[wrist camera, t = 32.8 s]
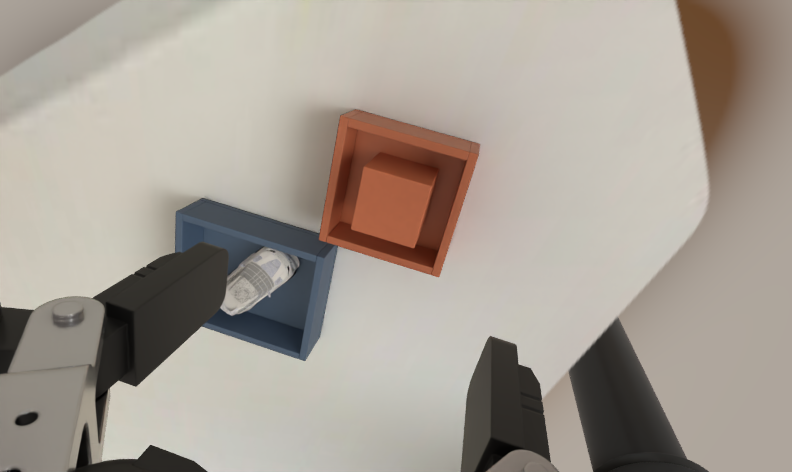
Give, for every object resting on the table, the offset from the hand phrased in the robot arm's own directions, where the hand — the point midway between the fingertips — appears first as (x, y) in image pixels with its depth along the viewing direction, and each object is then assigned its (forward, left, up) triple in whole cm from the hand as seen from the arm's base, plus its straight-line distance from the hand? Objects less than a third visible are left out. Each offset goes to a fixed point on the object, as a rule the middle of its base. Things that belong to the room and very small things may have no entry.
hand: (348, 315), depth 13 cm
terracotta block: (+2, +3, -20) cm, 20 cm away
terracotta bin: (+2, +3, -21) cm, 21 cm away
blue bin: (+12, +14, -21) cm, 27 cm away
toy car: (+12, +13, -20) cm, 27 cm away
